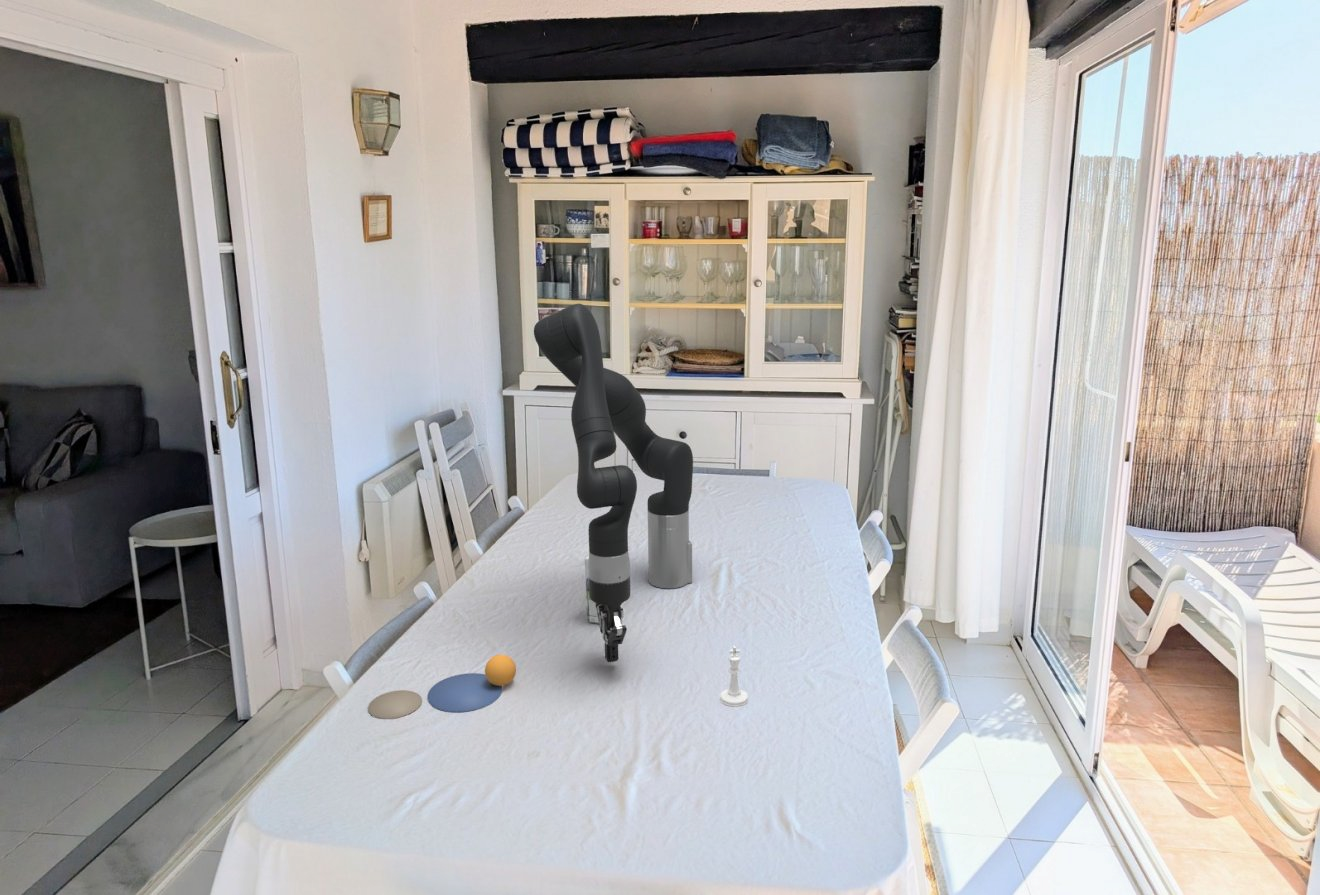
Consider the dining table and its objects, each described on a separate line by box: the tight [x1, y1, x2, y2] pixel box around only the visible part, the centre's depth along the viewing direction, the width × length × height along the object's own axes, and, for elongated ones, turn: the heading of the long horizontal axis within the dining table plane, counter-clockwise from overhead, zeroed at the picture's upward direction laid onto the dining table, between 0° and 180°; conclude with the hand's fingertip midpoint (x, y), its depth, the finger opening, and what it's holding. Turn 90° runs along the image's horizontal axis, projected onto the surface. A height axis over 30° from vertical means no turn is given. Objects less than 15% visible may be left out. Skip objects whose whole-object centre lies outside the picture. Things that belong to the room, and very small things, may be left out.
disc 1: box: [367, 689, 423, 720], centre depth 158 cm, size 9×9×1 cm
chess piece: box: [719, 645, 749, 708], centre depth 158 cm, size 5×5×10 cm
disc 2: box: [427, 672, 503, 713], centre depth 162 cm, size 13×13×1 cm
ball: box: [484, 654, 517, 687], centre depth 164 cm, size 6×6×6 cm
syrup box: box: [584, 553, 622, 625], centre depth 188 cm, size 6×6×14 cm
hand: (611, 659), depth 170 cm, fingers closed
